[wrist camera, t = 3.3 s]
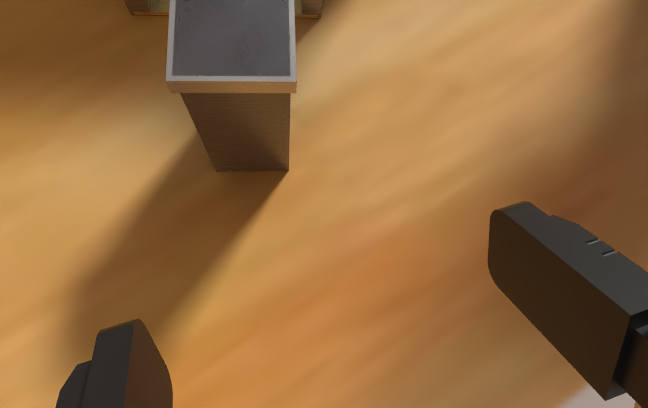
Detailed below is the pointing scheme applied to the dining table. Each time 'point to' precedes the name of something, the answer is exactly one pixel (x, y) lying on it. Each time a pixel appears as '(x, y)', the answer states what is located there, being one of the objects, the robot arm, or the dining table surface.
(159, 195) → the dining table surface
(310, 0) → the keeper
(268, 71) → the bar
